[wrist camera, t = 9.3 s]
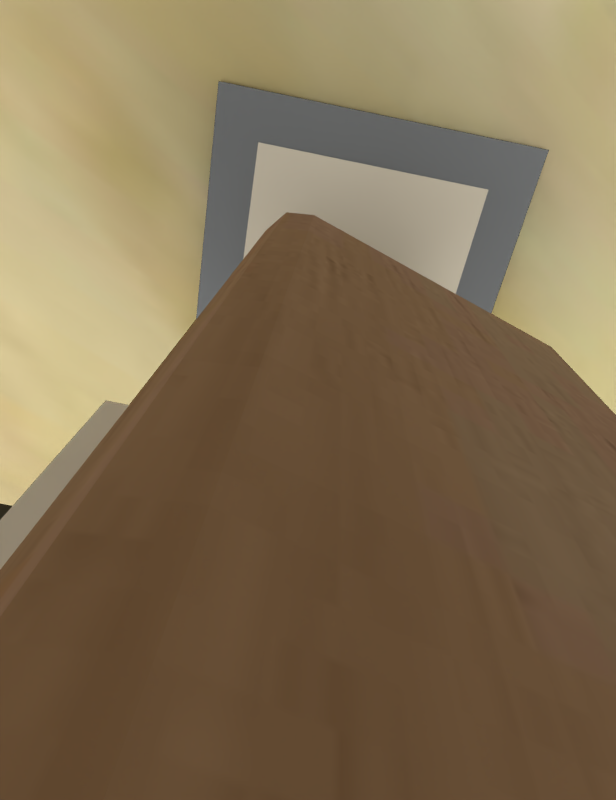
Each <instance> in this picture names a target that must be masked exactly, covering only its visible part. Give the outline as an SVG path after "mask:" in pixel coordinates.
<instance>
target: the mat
mask: <svg viewBox="0 0 616 800" xmlns="http://www.w3.org/2000/svg"><path fill="white" fill-rule="evenodd" d="M548 151H549V150H546V149H541V148H536V147H531V146H527V145H522V144H517V143H512V142H508V141H503V140H498V139H493V138H488V137H484V136H479V135H474V134H469V133H464V132H460V131H455V130H450V129H445V128H441V127H436V126H431V125H426V124H421V123H417V122H412V121H407V120H402V119H397V118H393V117H388V116H383V115H378V114H374V113H369V112H364V111H359V110H354V109H350V108H345V107H340V106H335V105H330V104H326V103H321V102H316V101H311V100H307V99H302V98H297V97H292V96H287V95H283V94H278V93H273V92H268V91H264V90H259V89H254V88H249V87H244V86H240V85H235V84H230V83H225V82H220V81H219V83H218V93H217V104H216V115H215V125H214V136H213V147H212V157H211V168H210V178H209V189H208V200H207V210H206V221H205V232H204V242H203V253H202V263H201V274H200V285H199V295H198V306H197V316H196V319H197V318H198V316H199V315H200V314H201V313H202V311H203V310H204V309H205V308H206V306H207V305H208V304H209V302H210V301H211V300H212V299H213V297H214V296H215V295H216V293H217V292H218V291H219V290H220V288H221V287H222V286H223V285H224V283H225V282H226V281H227V279H228V278H229V277H230V276H231V274H232V273H233V272H234V270H235V269H236V268H237V267H238V265H239V264H240V263H241V262H242V260H243V259H244V258H245V256H246V255H247V254H248V253H249V251H250V250H251V249H252V247H253V246H254V245H255V244H256V242H257V241H258V240H259V239H260V237H261V236H262V235H263V233H264V232H265V231H266V230H267V229H268V228H269V227H270V226H271V225H273V224H274V223H275V222H276V221H277V220H278V219H279V218H280V217H282V216H283V215H284V214H285V213H286V212H289V213H299V214H309V215H315V216H317V217H319V218H320V219H322V220H324V221H326V222H327V223H329V224H331V225H333V226H335V227H336V228H338V229H340V230H342V231H344V232H345V233H347V234H349V235H351V236H353V237H354V238H356V239H358V240H360V241H362V242H363V243H365V244H367V245H369V246H371V247H372V248H374V249H376V250H378V251H380V252H381V253H383V254H385V255H387V256H389V257H390V258H392V259H394V260H396V261H398V262H399V263H401V264H403V265H405V266H406V267H408V268H410V269H412V270H414V271H415V272H417V273H419V274H421V275H423V276H424V277H426V278H428V279H430V280H432V281H433V282H435V283H437V284H439V285H441V286H442V287H444V288H446V289H448V290H450V291H451V292H453V293H455V294H457V295H459V296H460V297H462V298H464V299H466V300H468V301H469V302H471V303H473V304H475V305H477V306H478V307H480V308H482V309H484V310H485V311H487V312H489V313H491V312H492V310H493V307H494V304H495V301H496V298H497V295H498V293H499V290H500V287H501V284H502V281H503V278H504V276H505V273H506V270H507V267H508V264H509V261H510V259H511V256H512V253H513V250H514V247H515V244H516V242H517V239H518V236H519V233H520V230H521V227H522V225H523V222H524V219H525V216H526V213H527V210H528V208H529V205H530V202H531V199H532V196H533V193H534V191H535V188H536V185H537V182H538V179H539V176H540V174H541V171H542V168H543V165H544V162H545V159H546V157H547V154H548Z"/></svg>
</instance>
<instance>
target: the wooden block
mask: <svg viewBox="0 0 616 800" xmlns="http://www.w3.org/2000/svg"><path fill="white" fill-rule="evenodd" d="M0 800H616V415H615V414H614V413H613V412H612V411H611V410H610V408H609V407H608V406H607V405H606V404H605V403H604V402H603V401H602V400H601V399H600V398H599V397H598V396H597V395H596V394H595V393H594V392H593V391H592V389H591V388H590V387H589V386H588V385H587V384H586V383H585V382H584V381H583V380H582V379H581V378H580V377H579V376H578V375H577V374H576V373H575V372H574V371H573V369H572V368H571V367H570V366H569V365H568V364H567V363H566V362H565V361H564V360H563V359H562V358H561V357H560V356H559V355H558V354H557V353H556V352H555V350H554V349H553V348H552V347H550V346H548V345H547V344H545V343H543V342H541V341H539V340H538V339H536V338H534V337H532V336H530V335H529V334H527V333H525V332H523V331H521V330H520V329H518V328H516V327H514V326H512V325H511V324H509V323H507V322H505V321H503V320H502V319H500V318H498V317H496V316H494V315H493V314H491V313H489V312H487V311H485V310H484V309H482V308H480V307H478V306H477V305H475V304H473V303H471V302H469V301H468V300H466V299H464V298H462V297H460V296H459V295H457V294H455V293H453V292H451V291H450V290H448V289H446V288H444V287H442V286H441V285H439V284H437V283H435V282H433V281H432V280H430V279H428V278H426V277H424V276H423V275H421V274H419V273H417V272H415V271H414V270H412V269H410V268H408V267H406V266H405V265H403V264H401V263H399V262H398V261H396V260H394V259H392V258H390V257H389V256H387V255H385V254H383V253H381V252H380V251H378V250H376V249H374V248H372V247H371V246H369V245H367V244H365V243H363V242H362V241H360V240H358V239H356V238H354V237H353V236H351V235H349V234H347V233H345V232H344V231H342V230H340V229H338V228H336V227H335V226H333V225H331V224H329V223H327V222H326V221H324V220H322V219H320V218H319V217H317V216H315V215H309V214H299V213H289V212H286V213H285V214H284V215H283V216H282V217H280V218H279V219H278V220H277V221H276V222H275V223H274V224H273V225H271V226H270V227H269V228H268V229H267V230H266V231H265V232H264V233H263V235H262V236H261V237H260V239H259V240H258V241H257V242H256V244H255V245H254V246H253V247H252V249H251V250H250V251H249V253H248V254H247V255H246V256H245V258H244V259H243V260H242V262H241V263H240V264H239V265H238V267H237V268H236V269H235V270H234V272H233V273H232V274H231V276H230V277H229V278H228V279H227V281H226V282H225V283H224V285H223V286H222V287H221V288H220V290H219V291H218V292H217V293H216V295H215V296H214V297H213V299H212V300H211V301H210V302H209V304H208V305H207V306H206V308H205V309H204V310H203V311H202V313H201V314H200V315H199V316H198V318H197V319H196V320H195V322H194V323H193V324H192V325H191V327H190V328H189V329H188V331H187V332H186V333H185V334H184V336H183V337H182V338H181V339H180V341H179V342H178V343H177V345H176V346H175V347H174V348H173V350H172V351H171V352H170V354H169V355H168V356H167V357H166V359H165V360H164V361H163V362H162V364H161V365H160V366H159V368H158V369H157V370H156V371H155V373H154V374H153V375H152V376H151V378H150V379H149V380H148V382H147V383H146V384H145V385H144V387H143V388H142V389H141V391H140V392H139V393H138V394H137V396H136V397H135V398H134V399H133V401H132V402H131V403H130V405H129V406H128V407H127V408H126V410H125V411H124V412H123V414H122V415H121V416H120V417H119V419H118V420H117V421H116V422H115V424H114V425H113V426H112V428H111V429H110V430H109V431H108V433H107V434H106V435H105V437H104V438H103V439H102V440H101V442H100V443H99V444H98V445H97V447H96V448H95V449H94V451H93V452H92V453H91V454H90V456H89V457H88V458H87V460H86V461H85V462H84V463H83V465H82V466H81V467H80V468H79V470H78V471H77V472H76V474H75V475H74V476H73V477H72V479H71V480H70V481H69V483H68V484H67V485H66V486H65V488H64V489H63V490H62V491H61V493H60V494H59V495H58V497H57V498H56V499H55V500H54V502H53V503H52V504H51V506H50V507H49V508H48V509H47V511H46V512H45V513H44V514H43V516H42V517H41V518H40V520H39V521H38V522H37V523H36V525H35V526H34V527H33V529H32V530H31V531H30V532H29V534H28V535H27V536H26V537H25V539H24V540H23V541H22V543H21V544H20V545H19V546H18V548H17V549H16V550H15V552H14V553H13V554H12V555H11V557H10V558H9V559H8V560H7V562H6V563H5V564H4V566H3V567H2V568H1V569H0Z"/></svg>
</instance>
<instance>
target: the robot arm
mask: <svg viewBox="0 0 616 800" xmlns="http://www.w3.org/2000/svg"><path fill="white" fill-rule="evenodd" d="M128 406H129V405H127V404H121V403H116V402H111V401H105V402H104V403H103V404H102V405H101V406H100V407H99V409H98V410H97V411H96V412H95V413H94V414H93V415H92V416H91V418H90V419H89V420H88V421H87V422H86V423H85V424H84V426H83V427H82V428H81V429H80V430H79V431H78V432H77V433H76V435H75V436H74V437H73V438H72V439H71V440H70V441H69V443H68V444H67V445H66V446H65V447H64V448H63V449H62V450H61V452H60V453H59V454H58V455H57V456H56V457H55V458H54V460H53V461H52V462H51V463H50V464H49V465H48V466H47V467H46V469H45V470H44V471H43V472H42V473H41V474H40V475H39V477H38V478H37V479H36V480H35V481H34V482H33V483H32V484H31V486H30V487H29V488H28V489H27V490H26V491H25V492H24V494H23V495H22V496H21V497H20V498H19V499H18V500H17V501H16V503H15V504H14V505H13V506H10V505H5V504H0V569H1V568H2V567H3V566H4V564H5V563H6V562H7V560H8V559H9V558H10V557H11V555H12V554H13V553H14V552H15V550H16V549H17V548H18V546H19V545H20V544H21V543H22V541H23V540H24V539H25V537H26V536H27V535H28V534H29V532H30V531H31V530H32V529H33V527H34V526H35V525H36V523H37V522H38V521H39V520H40V518H41V517H42V516H43V514H44V513H45V512H46V511H47V509H48V508H49V507H50V506H51V504H52V503H53V502H54V500H55V499H56V498H57V497H58V495H59V494H60V493H61V491H62V490H63V489H64V488H65V486H66V485H67V484H68V483H69V481H70V480H71V479H72V477H73V476H74V475H75V474H76V472H77V471H78V470H79V468H80V467H81V466H82V465H83V463H84V462H85V461H86V460H87V458H88V457H89V456H90V454H91V453H92V452H93V451H94V449H95V448H96V447H97V445H98V444H99V443H100V442H101V440H102V439H103V438H104V437H105V435H106V434H107V433H108V431H109V430H110V429H111V428H112V426H113V425H114V424H115V422H116V421H117V420H118V419H119V417H120V416H121V415H122V414H123V412H124V411H125V410H126V408H127V407H128Z"/></svg>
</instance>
